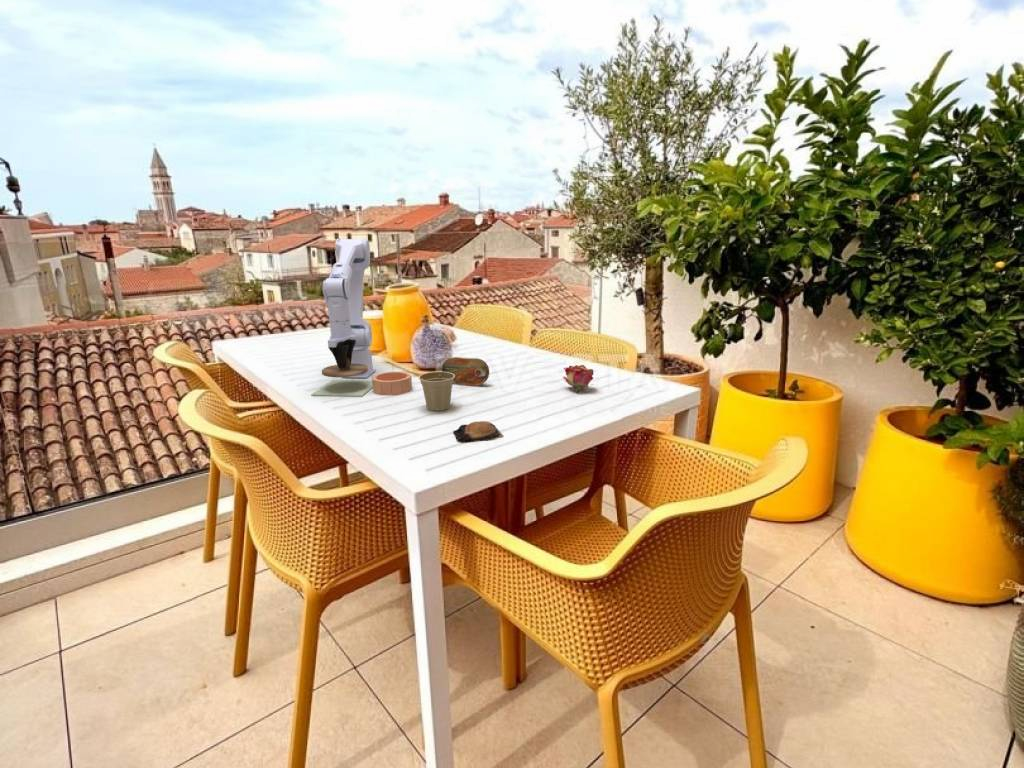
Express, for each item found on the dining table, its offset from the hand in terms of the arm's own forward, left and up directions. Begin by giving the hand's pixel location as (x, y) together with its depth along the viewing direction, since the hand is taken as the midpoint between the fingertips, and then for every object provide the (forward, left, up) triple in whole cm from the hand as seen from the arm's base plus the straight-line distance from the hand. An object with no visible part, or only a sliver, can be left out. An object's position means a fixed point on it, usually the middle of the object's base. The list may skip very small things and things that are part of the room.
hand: (344, 366), depth 146 cm
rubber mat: (0, 0, -7) cm, 7 cm away
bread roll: (+33, +44, -8) cm, 56 cm away
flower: (-3, +69, -7) cm, 69 cm away
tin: (-7, +35, -7) cm, 36 cm away
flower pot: (+15, +31, -7) cm, 35 cm away
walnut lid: (0, 0, -2) cm, 2 cm away
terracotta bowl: (0, +14, -7) cm, 16 cm away
